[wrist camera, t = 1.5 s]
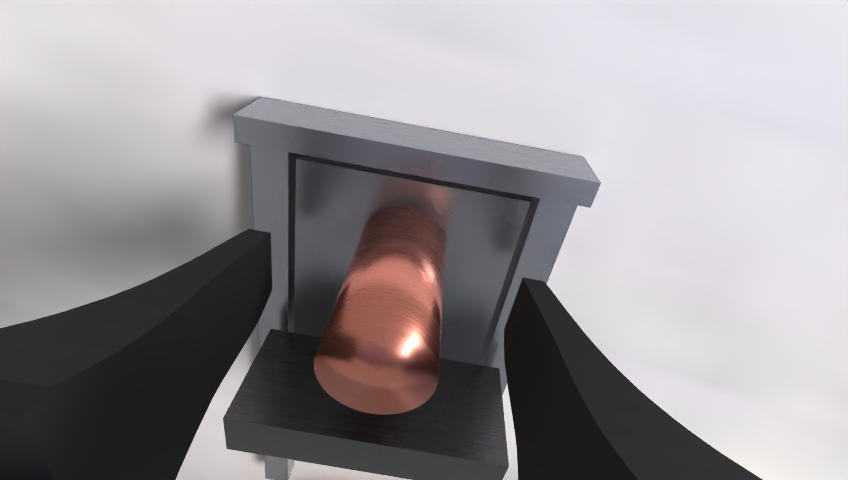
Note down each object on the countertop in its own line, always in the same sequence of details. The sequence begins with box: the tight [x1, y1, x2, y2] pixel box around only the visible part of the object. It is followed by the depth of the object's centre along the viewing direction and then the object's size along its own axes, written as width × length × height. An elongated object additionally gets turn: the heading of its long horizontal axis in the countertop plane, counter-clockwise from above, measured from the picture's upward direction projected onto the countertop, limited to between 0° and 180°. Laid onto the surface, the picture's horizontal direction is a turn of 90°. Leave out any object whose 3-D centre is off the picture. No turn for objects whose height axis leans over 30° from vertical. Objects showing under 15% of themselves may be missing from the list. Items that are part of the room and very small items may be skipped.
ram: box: [223, 154, 530, 480], centre depth 14 cm, size 9×9×7 cm
